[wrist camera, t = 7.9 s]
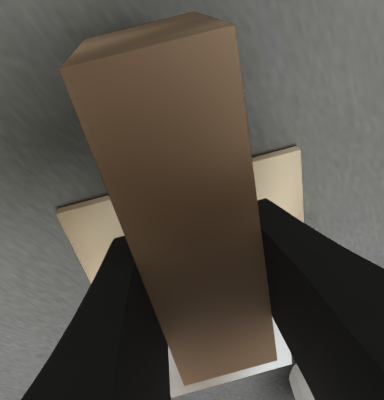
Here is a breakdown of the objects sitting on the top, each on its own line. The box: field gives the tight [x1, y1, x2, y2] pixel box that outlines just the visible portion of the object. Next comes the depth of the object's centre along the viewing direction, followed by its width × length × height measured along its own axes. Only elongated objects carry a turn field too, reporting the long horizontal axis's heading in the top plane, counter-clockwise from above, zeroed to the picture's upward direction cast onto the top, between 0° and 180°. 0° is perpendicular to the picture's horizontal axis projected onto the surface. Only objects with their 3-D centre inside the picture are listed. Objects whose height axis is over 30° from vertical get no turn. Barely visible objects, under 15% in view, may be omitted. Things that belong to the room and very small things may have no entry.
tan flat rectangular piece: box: [56, 146, 304, 284], centre depth 17 cm, size 10×12×1 cm
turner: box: [59, 12, 292, 398], centre depth 10 cm, size 5×13×4 cm, turn 12°
